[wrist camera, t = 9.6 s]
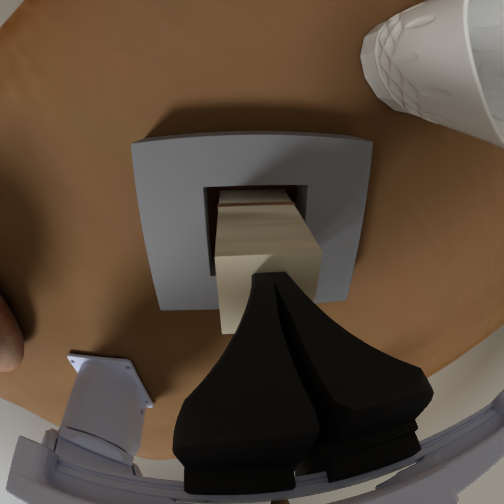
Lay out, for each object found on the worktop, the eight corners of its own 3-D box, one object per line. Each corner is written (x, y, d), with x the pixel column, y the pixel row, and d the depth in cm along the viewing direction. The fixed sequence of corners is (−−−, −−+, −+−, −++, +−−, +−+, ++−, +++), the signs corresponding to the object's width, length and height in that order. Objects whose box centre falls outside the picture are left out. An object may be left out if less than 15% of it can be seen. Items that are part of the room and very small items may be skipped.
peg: (282, 245, 19) (311, 328, 12) (222, 248, 19) (220, 334, 12) (284, 188, 17) (324, 250, 10) (219, 190, 17) (213, 255, 10)
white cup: (405, 143, 16) (517, 193, 7) (326, 59, 13) (433, 27, 4) (456, 80, 13) (560, 98, 5) (390, -2, 10) (492, -35, 2)
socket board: (335, 280, 21) (346, 300, 19) (166, 288, 20) (160, 310, 18) (354, 136, 16) (372, 141, 13) (144, 138, 15) (130, 143, 13)
